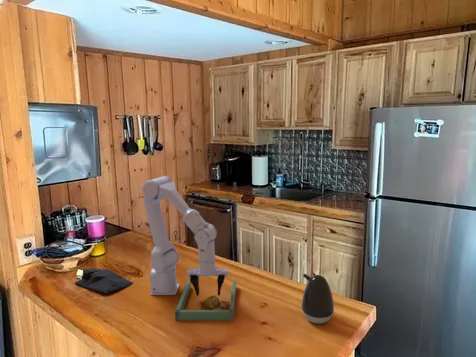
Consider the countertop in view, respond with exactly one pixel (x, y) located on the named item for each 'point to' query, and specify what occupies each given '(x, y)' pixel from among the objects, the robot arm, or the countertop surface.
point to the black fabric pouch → (102, 280)
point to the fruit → (213, 303)
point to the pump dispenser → (317, 300)
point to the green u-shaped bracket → (204, 314)
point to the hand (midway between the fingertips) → (208, 294)
